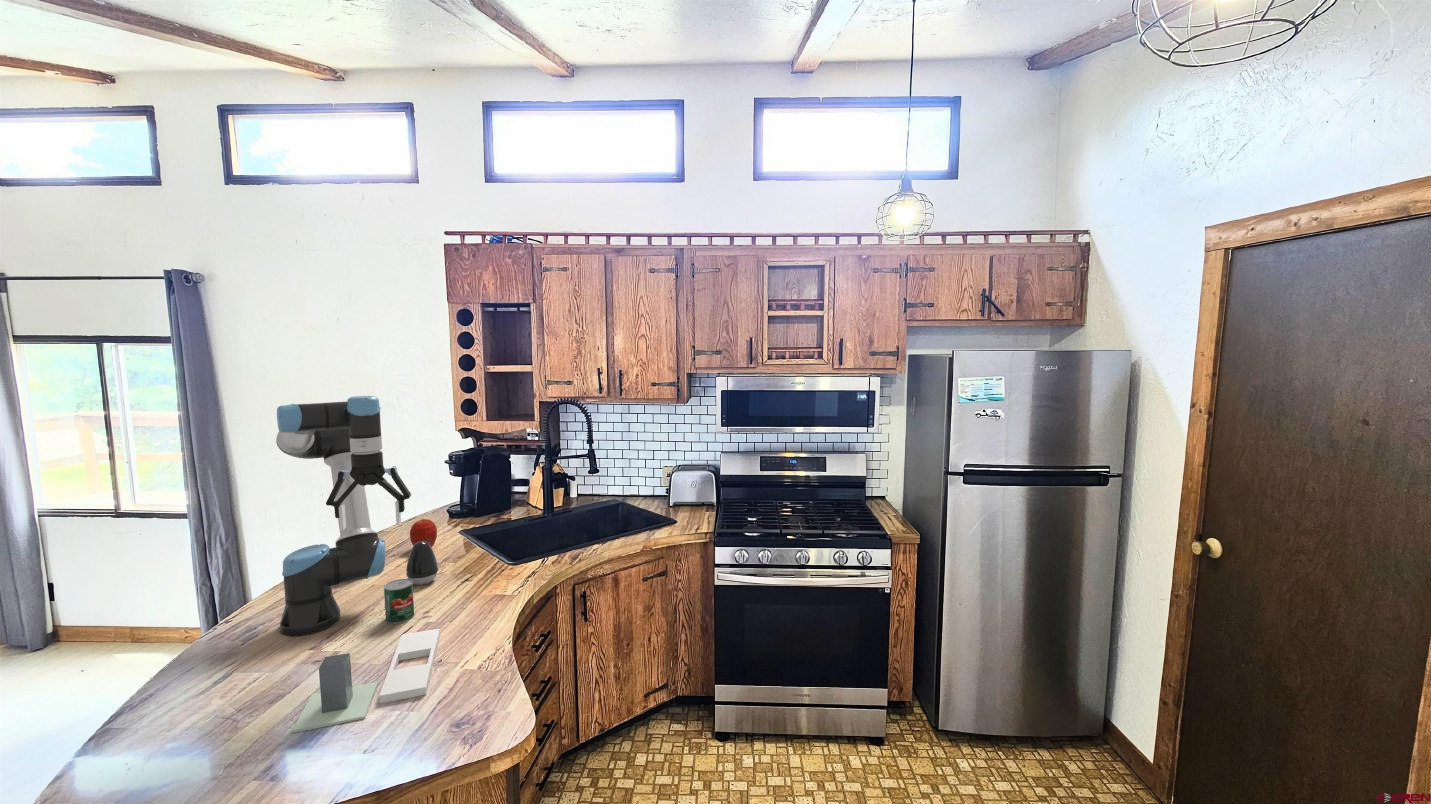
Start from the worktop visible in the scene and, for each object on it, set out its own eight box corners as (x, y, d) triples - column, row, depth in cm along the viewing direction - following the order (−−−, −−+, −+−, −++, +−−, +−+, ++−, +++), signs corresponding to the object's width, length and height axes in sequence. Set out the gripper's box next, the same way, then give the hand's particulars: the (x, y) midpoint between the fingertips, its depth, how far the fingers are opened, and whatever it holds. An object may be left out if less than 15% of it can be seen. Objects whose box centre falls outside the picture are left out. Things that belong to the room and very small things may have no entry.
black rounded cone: (444, 576, 206) (442, 536, 205) (427, 588, 196) (425, 547, 194) (418, 575, 207) (416, 535, 206) (400, 587, 197) (398, 546, 195)
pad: (292, 733, 123) (291, 730, 123) (312, 695, 136) (312, 693, 136) (365, 718, 128) (364, 716, 128) (378, 683, 141) (378, 681, 141)
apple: (411, 547, 236) (409, 515, 234) (438, 544, 240) (436, 512, 238) (409, 556, 226) (408, 522, 225) (437, 552, 230) (435, 519, 229)
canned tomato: (401, 625, 171) (399, 590, 170) (379, 622, 172) (377, 588, 171) (420, 612, 179) (418, 579, 177) (398, 610, 180) (396, 577, 179)
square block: (322, 713, 129) (318, 668, 128) (328, 700, 134) (325, 657, 133) (347, 708, 131) (344, 664, 130) (352, 696, 135) (349, 653, 134)
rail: (379, 703, 134) (379, 695, 133) (401, 641, 162) (401, 634, 161) (426, 694, 137) (425, 686, 137) (440, 635, 165) (439, 628, 165)
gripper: (308, 457, 147) (314, 535, 149) (415, 451, 155) (419, 525, 158) (317, 452, 154) (323, 526, 156) (419, 446, 162) (422, 517, 165)
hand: (371, 526), depth 157 cm, fingers open, 13 cm apart
